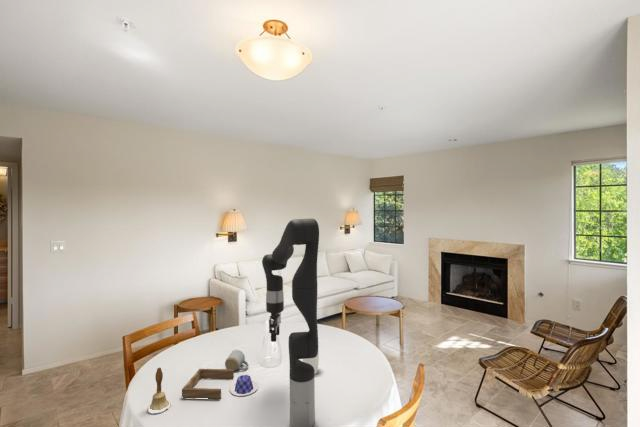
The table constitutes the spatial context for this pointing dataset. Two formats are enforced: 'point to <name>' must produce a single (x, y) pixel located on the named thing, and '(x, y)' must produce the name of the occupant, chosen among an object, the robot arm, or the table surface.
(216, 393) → the corral
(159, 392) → the hand bell
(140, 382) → the table surface
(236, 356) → the ceramic mug
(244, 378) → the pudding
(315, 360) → the white cup
